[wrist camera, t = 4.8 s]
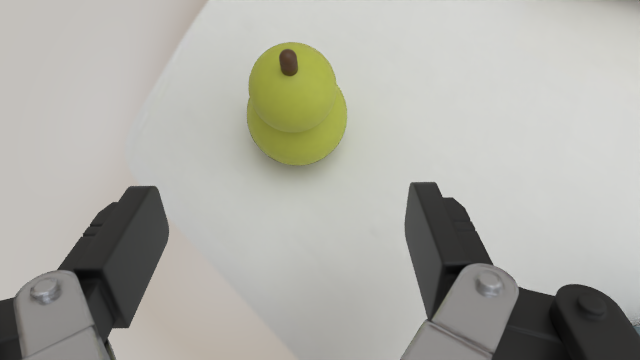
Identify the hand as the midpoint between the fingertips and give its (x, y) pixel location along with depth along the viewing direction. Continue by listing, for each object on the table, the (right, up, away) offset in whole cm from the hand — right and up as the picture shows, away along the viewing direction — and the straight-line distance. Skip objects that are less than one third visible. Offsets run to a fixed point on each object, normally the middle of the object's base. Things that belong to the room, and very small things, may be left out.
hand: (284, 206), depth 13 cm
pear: (0, +4, +12) cm, 12 cm away
